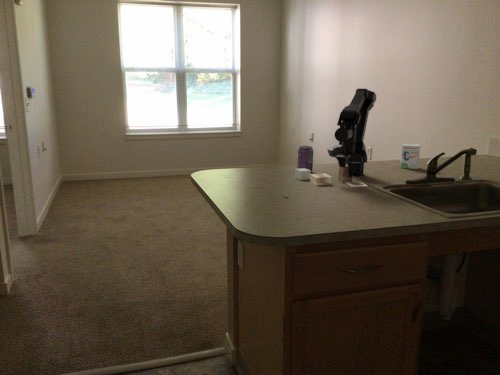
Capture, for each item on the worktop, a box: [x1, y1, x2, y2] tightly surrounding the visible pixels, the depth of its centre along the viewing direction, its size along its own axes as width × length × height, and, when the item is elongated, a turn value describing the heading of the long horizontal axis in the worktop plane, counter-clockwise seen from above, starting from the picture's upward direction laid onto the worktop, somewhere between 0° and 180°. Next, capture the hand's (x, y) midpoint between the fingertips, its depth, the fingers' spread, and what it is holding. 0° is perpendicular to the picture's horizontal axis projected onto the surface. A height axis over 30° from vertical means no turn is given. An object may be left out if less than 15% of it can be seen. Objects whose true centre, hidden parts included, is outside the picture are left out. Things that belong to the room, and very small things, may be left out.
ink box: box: [399, 143, 421, 170], centre depth 223 cm, size 9×5×12 cm, turn 73°
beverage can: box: [296, 145, 314, 173], centre depth 209 cm, size 7×7×12 cm
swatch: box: [344, 181, 369, 188], centre depth 187 cm, size 7×7×1 cm
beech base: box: [309, 173, 333, 186], centre depth 189 cm, size 7×7×4 cm
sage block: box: [294, 168, 312, 181], centre depth 197 cm, size 5×5×4 cm
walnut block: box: [338, 165, 354, 183], centre depth 192 cm, size 4×4×6 cm
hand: (345, 175), depth 193 cm, fingers open, 9 cm apart
